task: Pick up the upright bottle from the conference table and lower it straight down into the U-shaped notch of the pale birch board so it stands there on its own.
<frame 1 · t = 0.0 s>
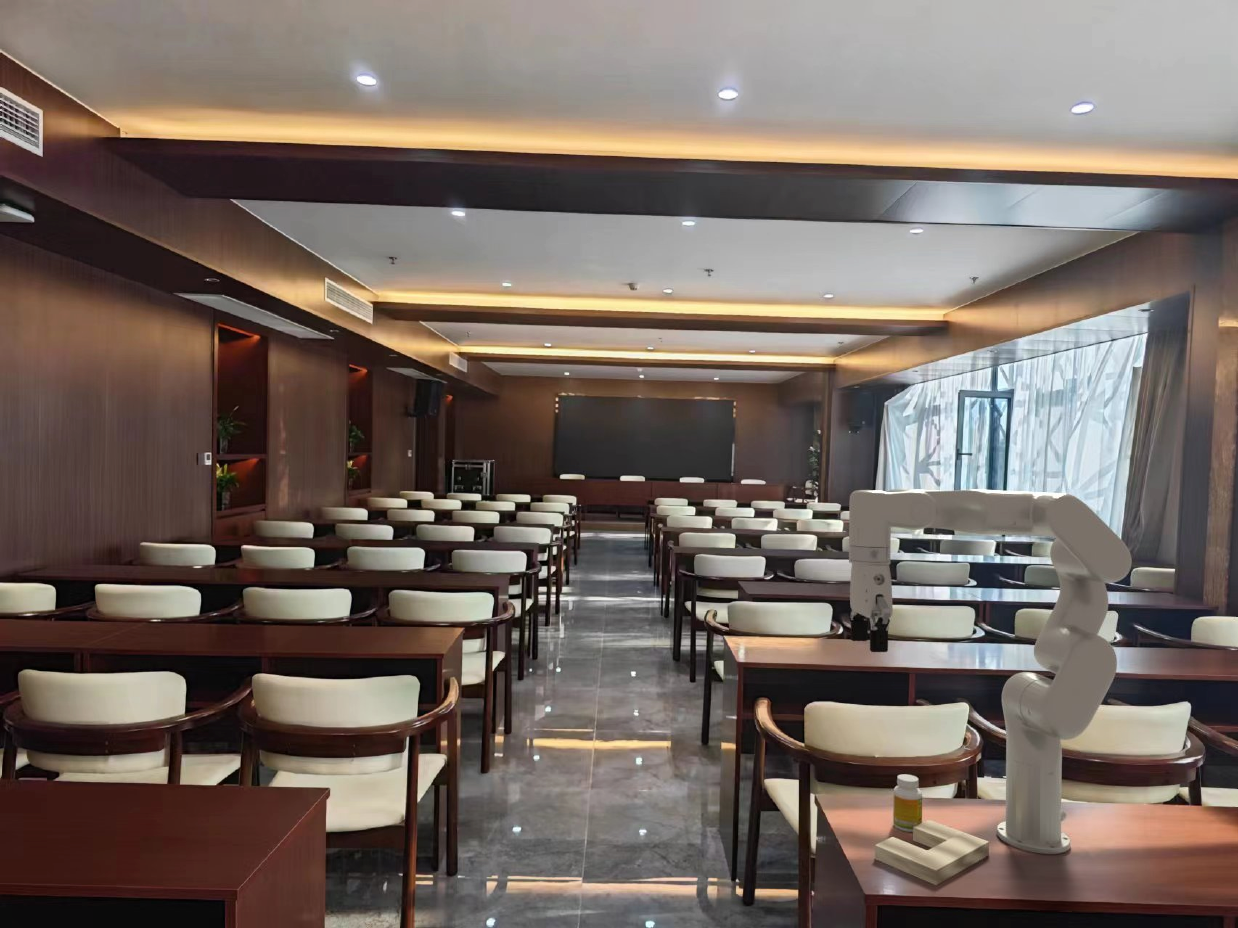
hand: (868, 646, 156), 37 cm above the table, tool pointing down, fingers open, 9 cm apart
notched board: (932, 856, 151), on the table
supplement bottle: (907, 827, 164), on the table
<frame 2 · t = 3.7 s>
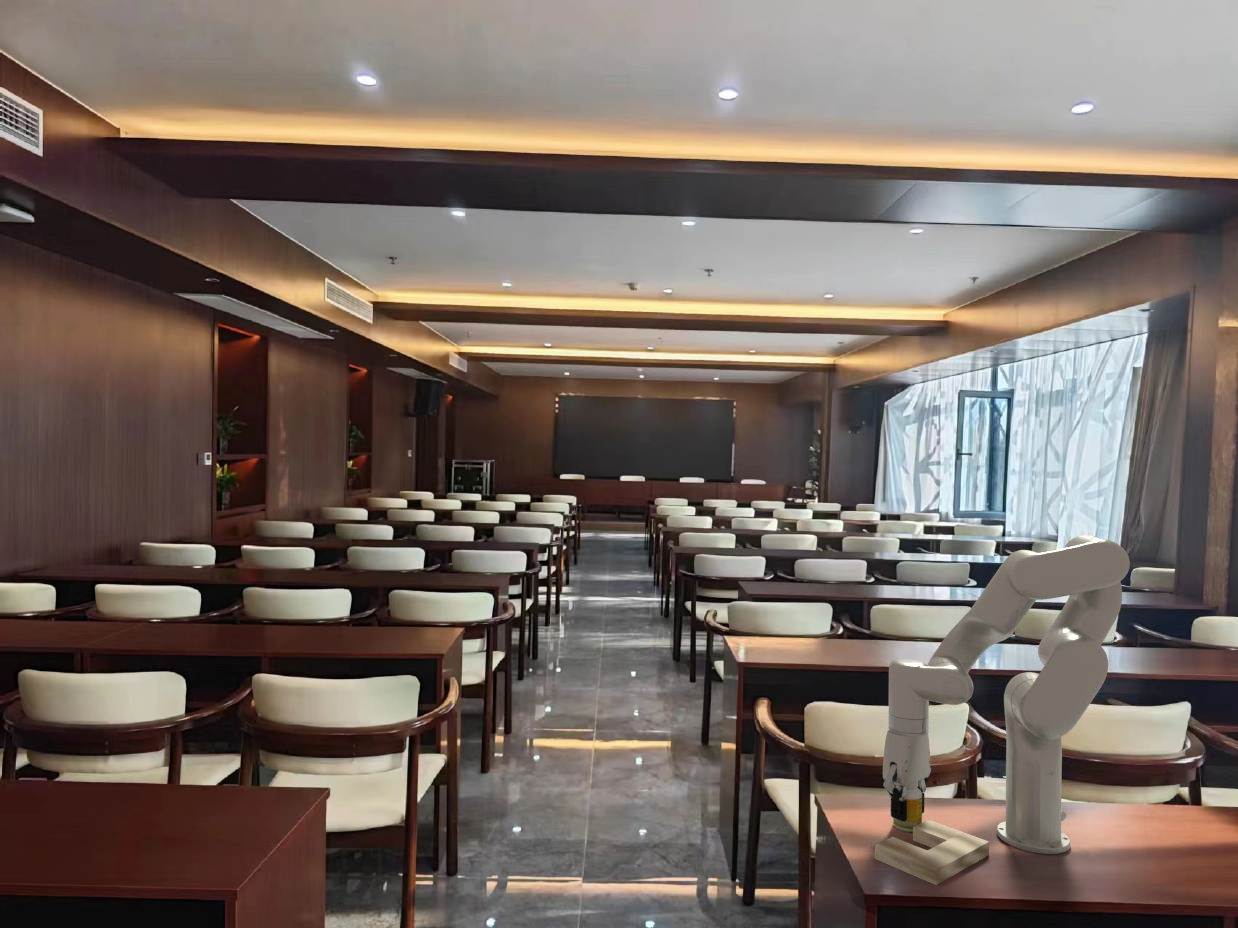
hand: (907, 814, 164), 3 cm above the table, tool pointing down, fingers closed on supplement bottle, 5 cm apart
supplement bottle: (907, 827, 164), on the table, touching gripper
when the fingers open (4 cm above the table, at t = 9.2 s): supplement bottle drops 1 cm, on the table.
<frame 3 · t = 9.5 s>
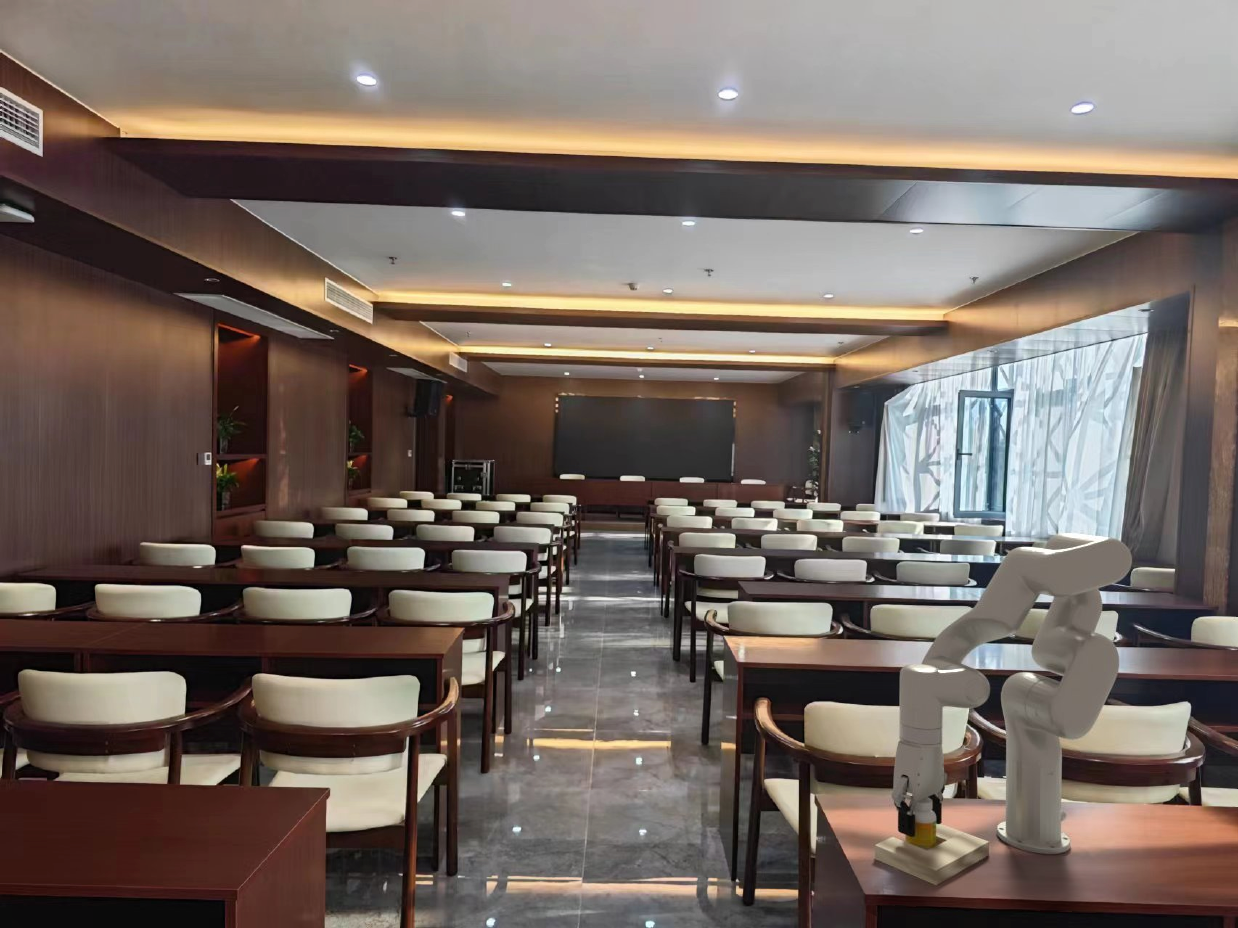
hand: (919, 827, 153), 5 cm above the table, tool pointing down, fingers open, 8 cm apart
supplement bottle: (920, 852, 153), on the table
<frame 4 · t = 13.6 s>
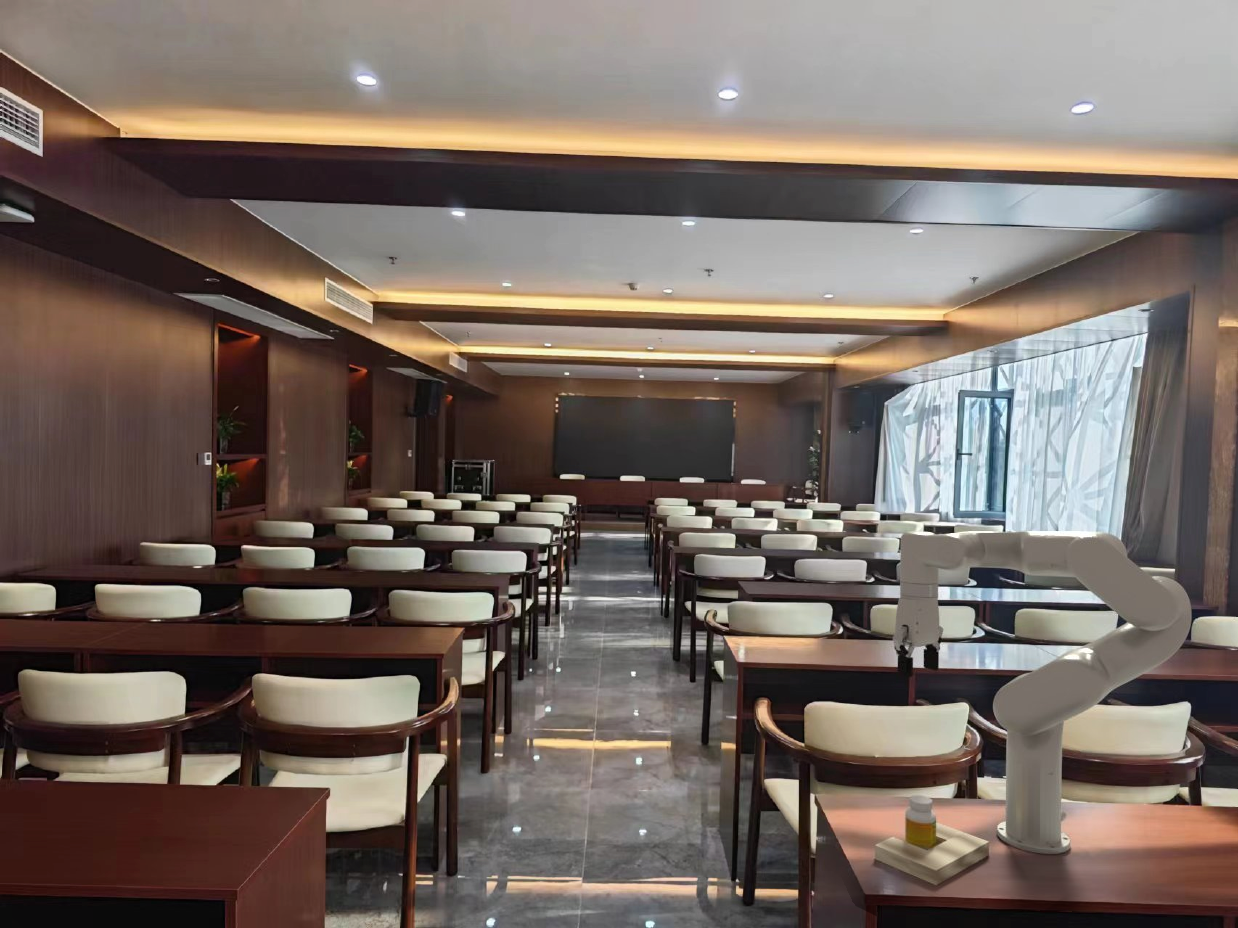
hand: (918, 672, 173), 28 cm above the table, tool pointing down, fingers open, 9 cm apart
nothing on the table moved.
at the end: supplement bottle 0.2 cm from the target spot on the notched board, point 0.0 cm above the notched board's base; supplement bottle tilted 0°; the gripper is holding nothing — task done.
